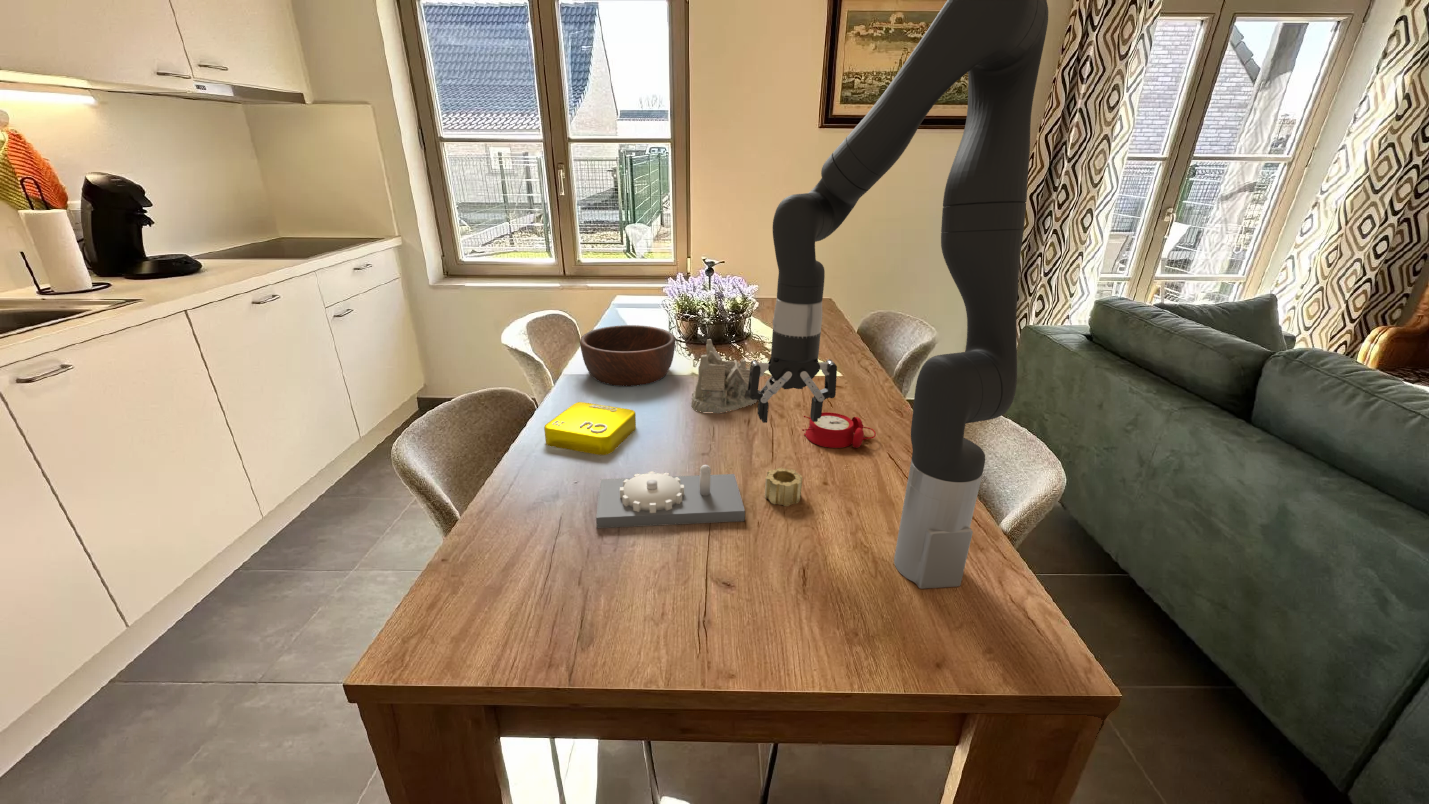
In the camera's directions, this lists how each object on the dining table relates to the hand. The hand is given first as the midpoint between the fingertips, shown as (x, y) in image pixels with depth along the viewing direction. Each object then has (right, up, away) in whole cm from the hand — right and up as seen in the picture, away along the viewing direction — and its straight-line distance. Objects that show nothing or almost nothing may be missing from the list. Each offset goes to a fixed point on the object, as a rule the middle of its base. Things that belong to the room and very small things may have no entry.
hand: (789, 420), depth 100 cm
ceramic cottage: (-10, +3, +45) cm, 46 cm away
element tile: (-39, -4, +26) cm, 47 cm away
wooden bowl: (-36, +10, +61) cm, 71 cm away
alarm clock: (+14, -5, +28) cm, 31 cm away
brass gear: (0, -14, +6) cm, 15 cm away
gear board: (-20, -14, +2) cm, 25 cm away
